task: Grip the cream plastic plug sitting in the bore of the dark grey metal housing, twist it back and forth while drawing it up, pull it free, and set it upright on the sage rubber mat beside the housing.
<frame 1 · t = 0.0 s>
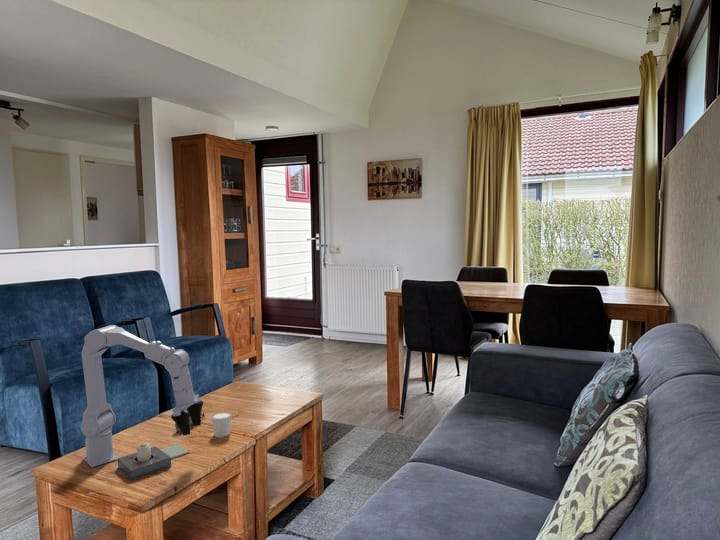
hand: (192, 429, 160), 11 cm above the table, tool pointing down, fingers open, 7 cm apart
plug: (144, 456, 158), in the housing
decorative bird: (190, 425, 193), on the table
mat: (173, 452, 168), on the table
housing: (144, 467, 158), on the table
white tapered cylinder: (222, 434, 183), on the table
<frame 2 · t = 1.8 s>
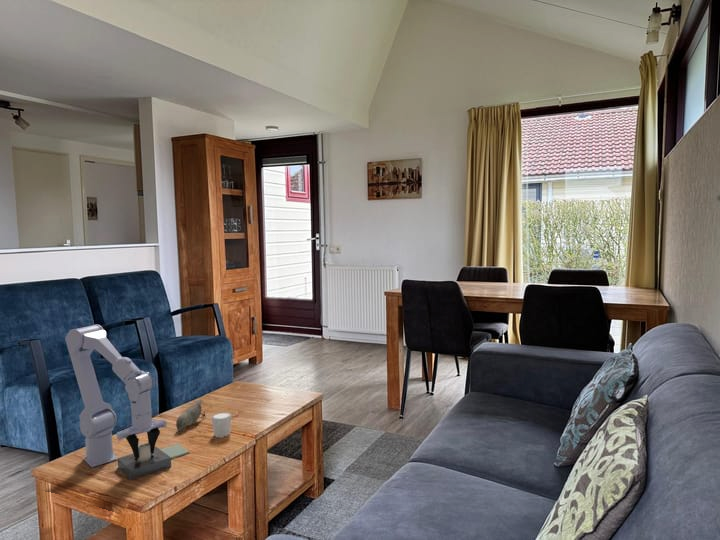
hand: (143, 455, 158), 4 cm above the table, tool pointing down, fingers closed on plug, 4 cm apart
plug: (144, 455, 158), in the housing, touching gripper
everything else where it was.
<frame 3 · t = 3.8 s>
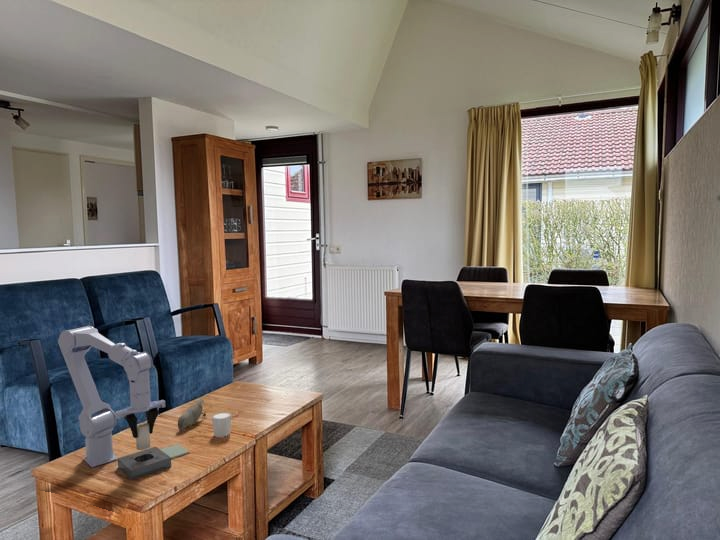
hand: (142, 434, 157), 10 cm above the table, tool pointing down, fingers closed on plug, 4 cm apart
plug: (142, 435, 157), point 10 cm above the table, touching gripper
everything else where it was.
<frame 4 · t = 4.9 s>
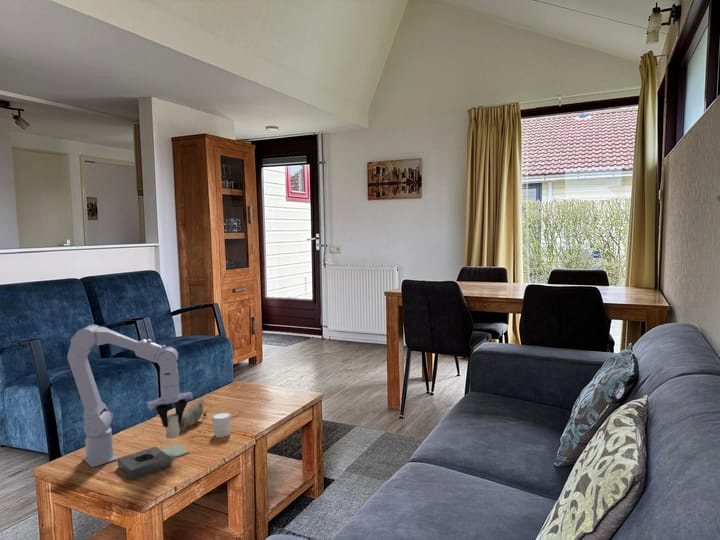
hand: (172, 424, 168), 10 cm above the table, tool pointing down, fingers closed on plug, 4 cm apart
plug: (172, 425, 168), point 9 cm above the table, touching gripper
everything else where it was.
when the fingers open (6 cm above the table, at t = 5.9 s): plug drops 1 cm, resting on mat.
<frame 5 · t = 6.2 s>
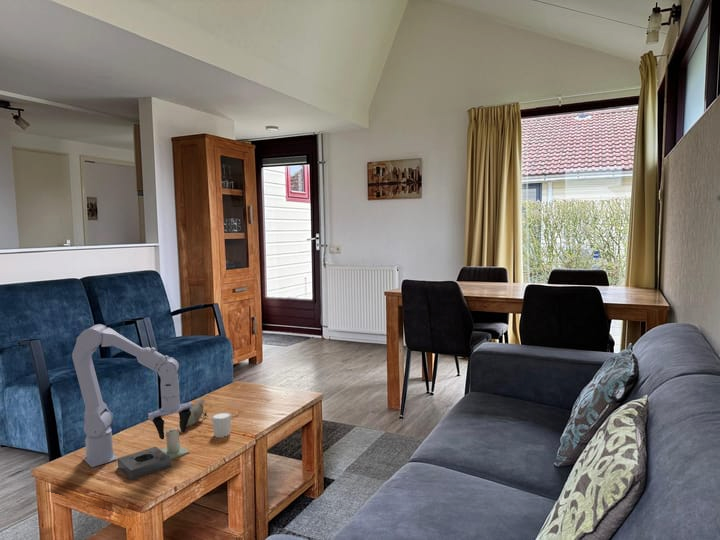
hand: (172, 435, 168), 6 cm above the table, tool pointing down, fingers open, 7 cm apart
plug: (172, 440, 168), on the mat
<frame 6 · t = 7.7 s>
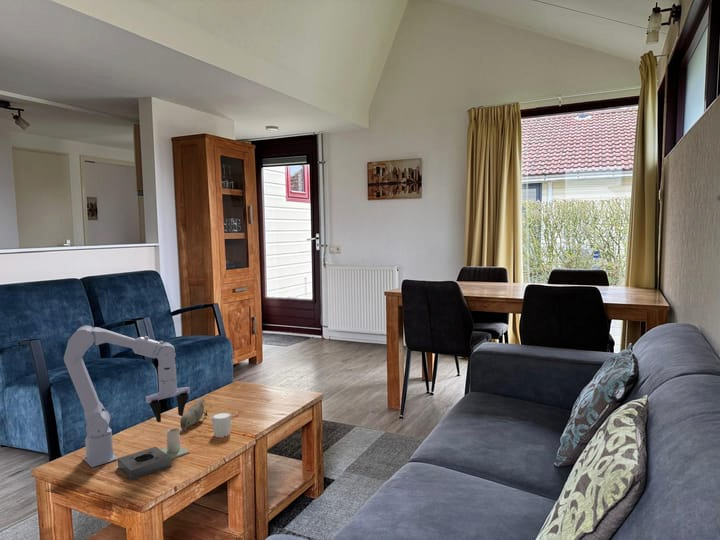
hand: (169, 418, 171), 10 cm above the table, tool pointing down, fingers open, 7 cm apart
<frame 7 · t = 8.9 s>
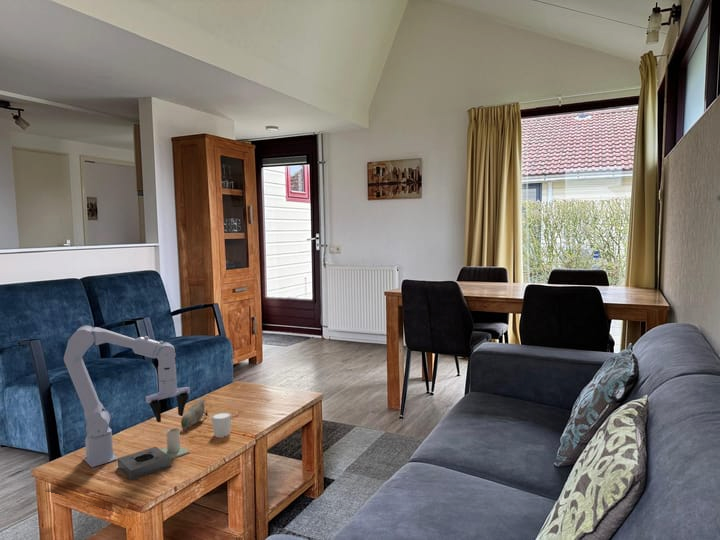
hand: (169, 418, 171), 10 cm above the table, tool pointing down, fingers open, 7 cm apart
at the end: plug inside the target area on the mat (0.1 cm from its centre), point 4.2 cm above the mat's base; plug tilted 1°; the gripper is holding nothing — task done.
